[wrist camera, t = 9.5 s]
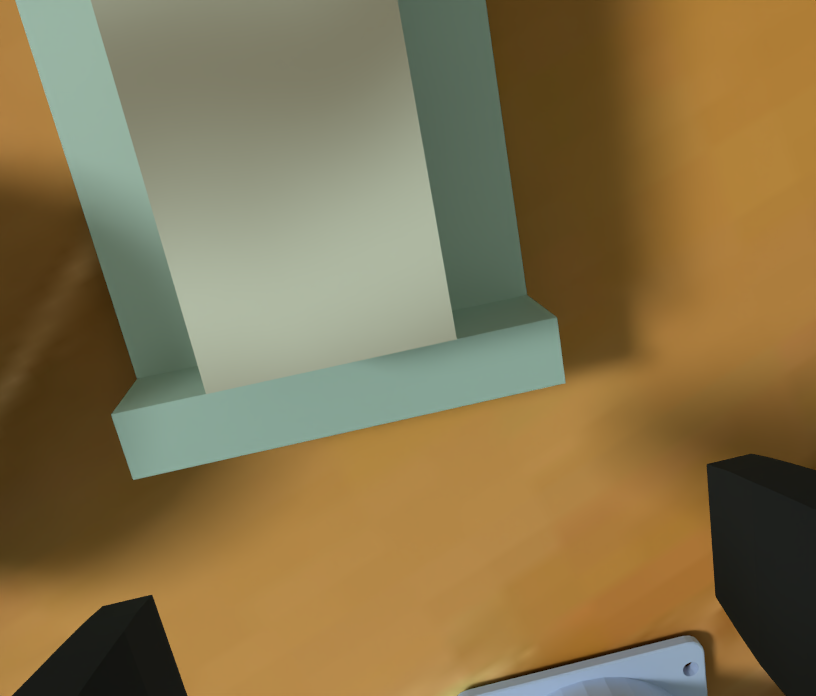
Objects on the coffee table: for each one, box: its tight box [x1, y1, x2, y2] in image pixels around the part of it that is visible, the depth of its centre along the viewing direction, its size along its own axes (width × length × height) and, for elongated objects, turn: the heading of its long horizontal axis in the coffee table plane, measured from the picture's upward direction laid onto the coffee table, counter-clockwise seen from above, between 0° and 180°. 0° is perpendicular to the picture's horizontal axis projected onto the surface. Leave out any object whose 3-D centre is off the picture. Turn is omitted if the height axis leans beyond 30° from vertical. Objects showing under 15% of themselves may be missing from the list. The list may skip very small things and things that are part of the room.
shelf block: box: [91, 0, 457, 394], centre depth 13 cm, size 10×4×4 cm, turn 11°
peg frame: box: [15, 0, 565, 480], centre depth 15 cm, size 16×10×3 cm, turn 11°
